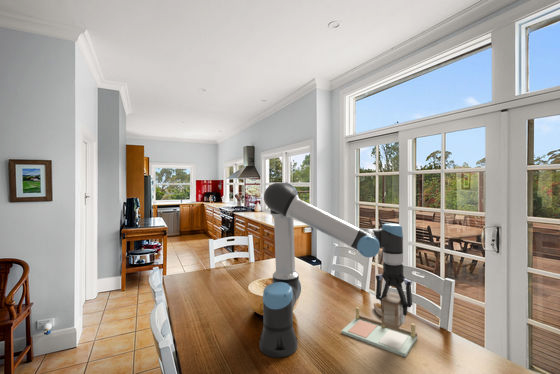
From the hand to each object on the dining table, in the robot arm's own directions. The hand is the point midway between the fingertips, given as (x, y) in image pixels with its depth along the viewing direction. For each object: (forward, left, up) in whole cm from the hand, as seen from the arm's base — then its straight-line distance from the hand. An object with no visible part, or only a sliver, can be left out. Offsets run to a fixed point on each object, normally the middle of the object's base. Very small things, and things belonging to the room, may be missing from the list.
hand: (393, 319), depth 110 cm
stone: (+21, +13, -10) cm, 26 cm away
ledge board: (+1, +7, -9) cm, 11 cm away
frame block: (0, 0, -1) cm, 1 cm away
